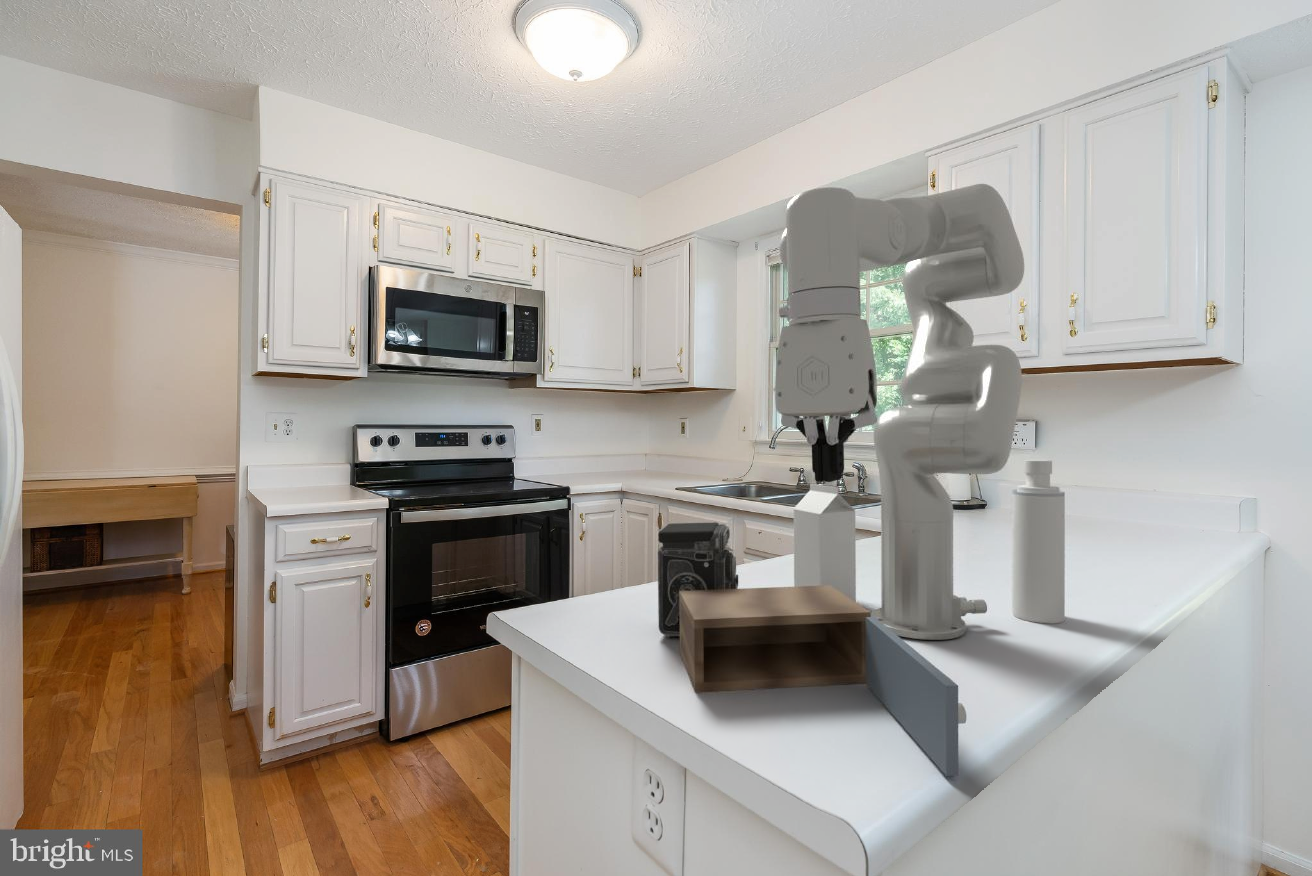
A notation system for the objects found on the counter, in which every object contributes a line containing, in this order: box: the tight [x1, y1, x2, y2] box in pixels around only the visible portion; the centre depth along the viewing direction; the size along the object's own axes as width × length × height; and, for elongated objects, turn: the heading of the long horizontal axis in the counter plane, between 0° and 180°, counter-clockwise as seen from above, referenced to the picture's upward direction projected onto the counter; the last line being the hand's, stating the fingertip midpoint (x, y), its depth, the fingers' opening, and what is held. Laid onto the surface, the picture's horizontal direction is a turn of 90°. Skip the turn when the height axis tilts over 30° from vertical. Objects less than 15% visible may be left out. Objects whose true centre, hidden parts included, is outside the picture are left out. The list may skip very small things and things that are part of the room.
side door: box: [865, 617, 967, 777], centre depth 61 cm, size 18×2×7 cm, turn 1°
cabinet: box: [679, 585, 871, 693], centre depth 76 cm, size 20×12×8 cm, turn 96°
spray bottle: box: [1011, 459, 1066, 625], centre depth 94 cm, size 7×7×25 cm
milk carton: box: [793, 483, 857, 603], centre depth 104 cm, size 7×7×19 cm
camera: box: [657, 522, 739, 638], centre depth 89 cm, size 10×10×15 cm
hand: (828, 479), depth 69 cm, fingers closed
